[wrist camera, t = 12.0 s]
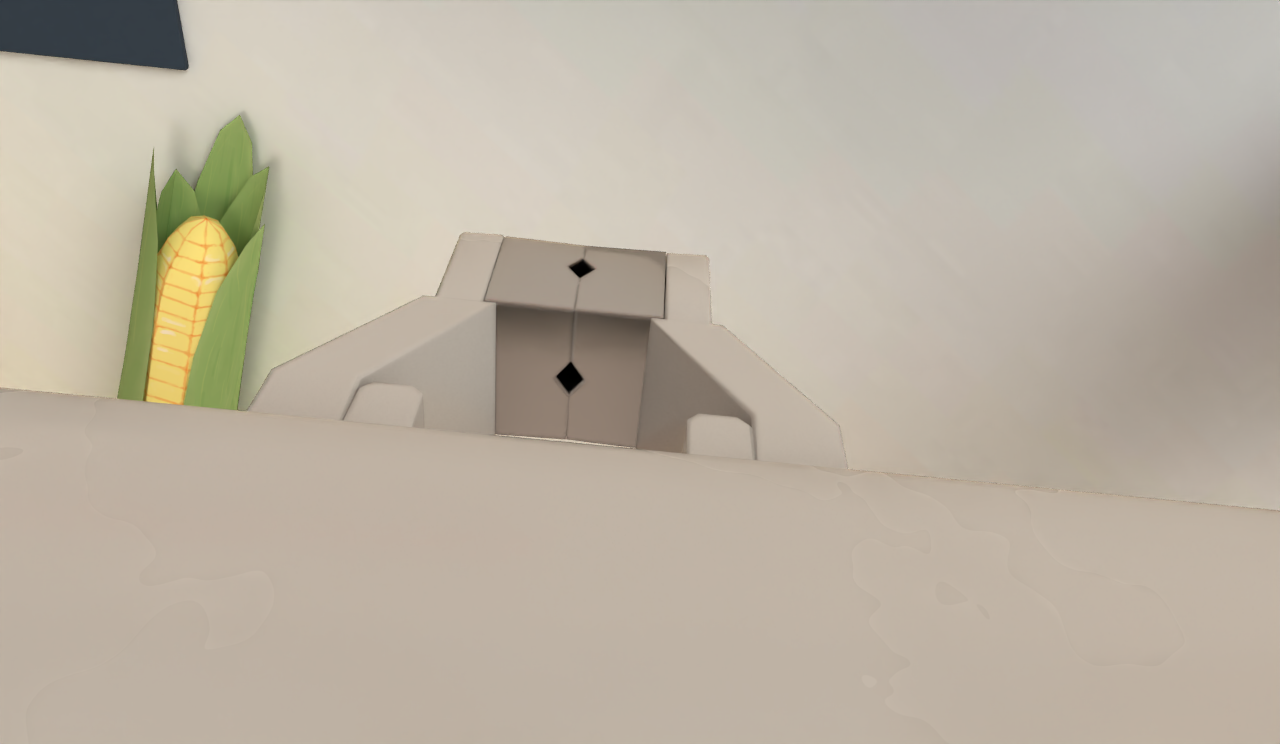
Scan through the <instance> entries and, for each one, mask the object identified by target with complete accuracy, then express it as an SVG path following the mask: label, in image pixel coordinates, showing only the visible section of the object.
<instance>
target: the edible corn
mask: <svg viewBox="0 0 1280 744" xmlns="http://www.w3.org/2000/svg"><path fill="white" fill-rule="evenodd" d="M268 172H269V167H267V168H266V169H264V170H262V171H260V172H258V173H256V174H255V175H253V166H252V142H251V140H250V138H249V135H248V133H247V131H246V128H245V126H244V124H243V121H242V119H241V116H240V115H239V116H238V117H237V118H235V119H234V120H233V121H232V122H230V123H229V124H228V125H226V126H225V127H224V128H223V129H221V130H220V132H219V134H218V137H217V139H216V141H215V143H214V146H213V148H212V150H211V152H210V155H209V157H208V159H207V161H206V164H205V166H204V168H203V171H202V173H201V175H200V177H199V180H198V182H197V185H196V188H195V191H194V190H193V189H192V188H191V186H190V185H189V184H188V183H187V181H186V180H185V179H184V178H183V177H182V175H181V174H180V173H179V172H178V171H177V169H176V170H175V171H174V173H173V175H172V176H171V178H170V179H169V181H168V182H167V184H166V186H165V187H164V189H163V190H162V192H161V195H160V199H159V203H158V208H157V202H156V190H155V178H154V149H153V156H152V164H151V172H150V179H149V187H148V194H147V202H146V210H145V217H144V225H143V233H142V240H141V248H140V255H139V263H138V270H137V277H136V284H135V290H134V297H133V304H132V311H131V317H130V324H129V331H128V338H127V345H126V351H125V357H124V363H123V368H122V374H121V380H120V385H119V391H118V396H117V399H126V400H137V401H147V402H157V403H168V404H178V405H188V406H199V407H209V408H219V409H230V410H237V408H238V401H239V393H240V386H241V378H242V371H243V364H244V356H245V349H246V341H247V334H248V327H249V321H250V314H251V308H252V302H253V296H254V289H255V283H256V279H257V274H258V268H259V260H260V252H261V246H262V239H263V233H264V227H265V224H264V225H263V226H262V228H261V229H260V230H259V228H260V221H261V215H262V209H263V203H264V197H265V190H266V184H267V178H268Z"/></svg>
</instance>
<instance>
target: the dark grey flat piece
mask: <svg viewBox="0 0 1280 744" xmlns="http://www.w3.org/2000/svg"><path fill="white" fill-rule="evenodd" d="M0 51H6V52H16V53H25V54H35V55H45V56H54V57H64V58H73V59H83V60H92V61H102V62H111V63H121V64H130V65H140V66H150V67H159V68H169V69H178V70H186V69H188V61H187V55H186V50H185V44H184V39H183V33H182V28H181V22H180V16H179V11H178V5H177V0H0Z"/></svg>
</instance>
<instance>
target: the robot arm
mask: <svg viewBox="0 0 1280 744" xmlns="http://www.w3.org/2000/svg"><path fill="white" fill-rule="evenodd" d="M495 434H498V435H495ZM499 435H513V436H527V437H541V438H555V439H568V440H576V441H584V442H592V443H600V444H609V445H617V446H625V447H633V448H636V449H633V448H623V447H613V446H602V445H592V444H582V443H571V442H561V441H550V440H540V439H530V438H519V437H509V436H499ZM0 744H1280V511H1279V510H1269V509H1258V508H1248V507H1238V506H1227V505H1217V504H1206V503H1196V502H1186V501H1175V500H1165V499H1154V498H1144V497H1134V496H1123V495H1113V494H1102V493H1092V492H1081V491H1071V490H1061V489H1050V488H1040V487H1029V486H1019V485H1009V484H998V483H988V482H977V481H967V480H957V479H946V478H936V477H925V476H915V475H904V474H894V473H884V472H873V471H863V470H852V469H848V465H847V460H846V455H845V450H844V445H843V440H842V435H841V431H840V426H839V425H838V424H837V423H836V422H835V421H834V420H833V419H831V418H830V417H829V416H828V415H827V414H826V413H824V412H823V411H822V410H821V409H820V408H819V407H817V406H816V405H815V404H814V403H813V402H812V401H810V400H809V399H808V398H807V397H806V396H805V395H803V394H802V393H801V392H800V391H799V390H798V389H796V388H795V387H794V386H793V385H792V384H791V383H790V382H788V381H787V380H786V379H785V378H784V377H783V376H781V375H780V374H779V373H778V372H777V371H776V370H774V369H773V368H772V367H771V366H770V365H769V364H767V363H766V362H765V361H764V360H763V359H762V358H760V357H759V356H758V355H757V354H756V353H755V352H753V351H752V350H751V349H750V348H749V347H748V346H746V345H745V344H744V343H743V342H742V341H741V340H739V339H738V338H737V337H736V336H735V335H734V334H732V333H731V332H730V331H729V330H728V329H727V328H725V327H724V326H723V325H716V324H712V313H711V290H710V266H709V258H708V257H707V256H706V255H692V254H674V253H667V254H666V252H659V251H646V250H633V249H620V248H607V247H594V246H584V245H576V244H567V243H559V242H551V241H542V240H534V239H525V238H517V237H509V236H506V237H504V236H503V235H498V234H484V233H470V232H464V233H462V234H461V235H460V236H459V239H458V241H457V244H456V246H455V249H454V251H453V254H452V256H451V259H450V261H449V264H448V266H447V269H446V271H445V273H444V276H443V278H442V281H441V283H440V286H439V288H438V291H437V293H436V296H435V297H434V296H422V297H420V298H418V299H416V300H414V301H411V302H409V303H407V304H405V305H403V306H401V307H399V308H397V309H395V310H393V311H391V312H389V313H387V314H385V315H383V316H380V317H378V318H376V319H374V320H372V321H370V322H368V323H366V324H364V325H362V326H360V327H358V328H356V329H354V330H352V331H350V332H347V333H345V334H343V335H341V336H339V337H337V338H335V339H333V340H331V341H329V342H327V343H325V344H323V345H321V346H319V347H316V348H314V349H312V350H310V351H308V352H306V353H304V354H302V355H300V356H298V357H296V358H294V359H292V360H290V361H288V362H286V363H283V364H281V365H279V366H277V367H275V368H273V369H271V371H270V373H269V374H268V376H267V378H266V379H265V381H264V383H263V384H262V386H261V388H260V389H259V391H258V393H257V394H256V396H255V398H254V399H253V401H252V403H251V404H250V406H249V408H248V409H247V411H240V410H230V409H219V408H209V407H199V406H188V405H178V404H168V403H157V402H147V401H137V400H126V399H116V398H105V397H95V396H84V395H73V394H63V393H52V392H42V391H31V390H21V389H10V388H0Z"/></svg>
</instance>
